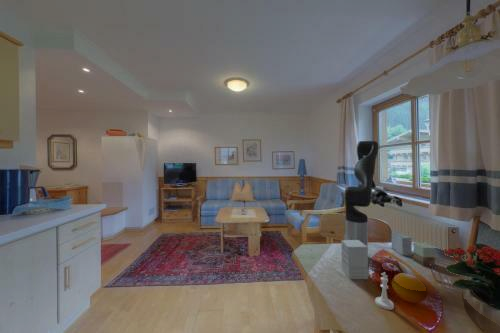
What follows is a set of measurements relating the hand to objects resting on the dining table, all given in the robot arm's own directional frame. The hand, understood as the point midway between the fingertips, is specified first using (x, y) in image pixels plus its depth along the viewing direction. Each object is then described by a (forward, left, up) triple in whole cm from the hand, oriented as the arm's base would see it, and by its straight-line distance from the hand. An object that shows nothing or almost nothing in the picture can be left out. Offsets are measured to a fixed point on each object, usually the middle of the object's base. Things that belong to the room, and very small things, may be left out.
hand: (392, 205), depth 107 cm
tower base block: (+1, -18, -22) cm, 29 cm away
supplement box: (-34, -27, -22) cm, 49 cm away
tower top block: (+1, -18, -18) cm, 26 cm away
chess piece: (-33, -44, -22) cm, 60 cm away
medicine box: (-1, -7, -22) cm, 23 cm away
